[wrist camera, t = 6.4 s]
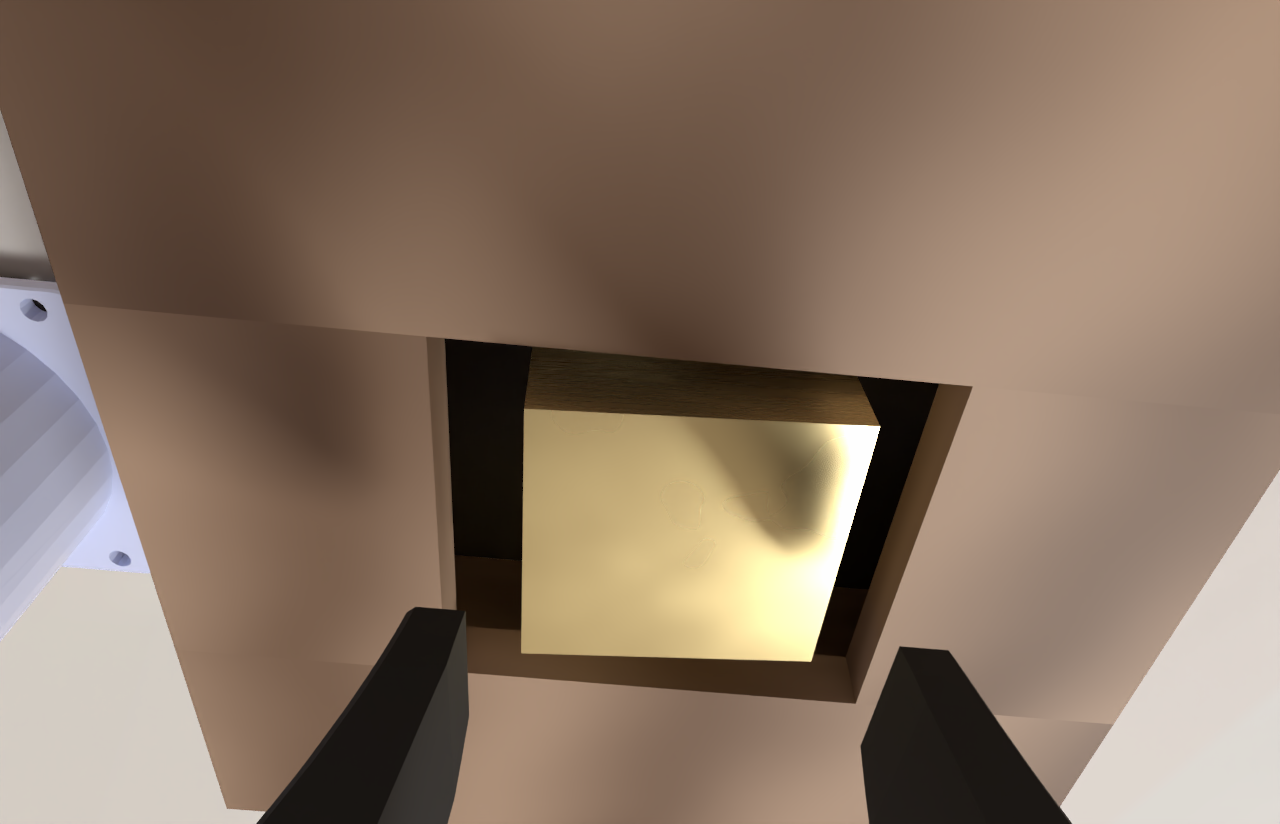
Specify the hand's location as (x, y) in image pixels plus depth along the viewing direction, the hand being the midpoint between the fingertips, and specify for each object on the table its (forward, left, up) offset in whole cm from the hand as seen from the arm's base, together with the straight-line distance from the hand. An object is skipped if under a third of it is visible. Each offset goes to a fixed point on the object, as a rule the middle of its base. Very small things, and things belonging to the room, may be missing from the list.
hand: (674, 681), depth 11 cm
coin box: (0, 0, -9) cm, 9 cm away
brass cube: (0, 0, -5) cm, 5 cm away
